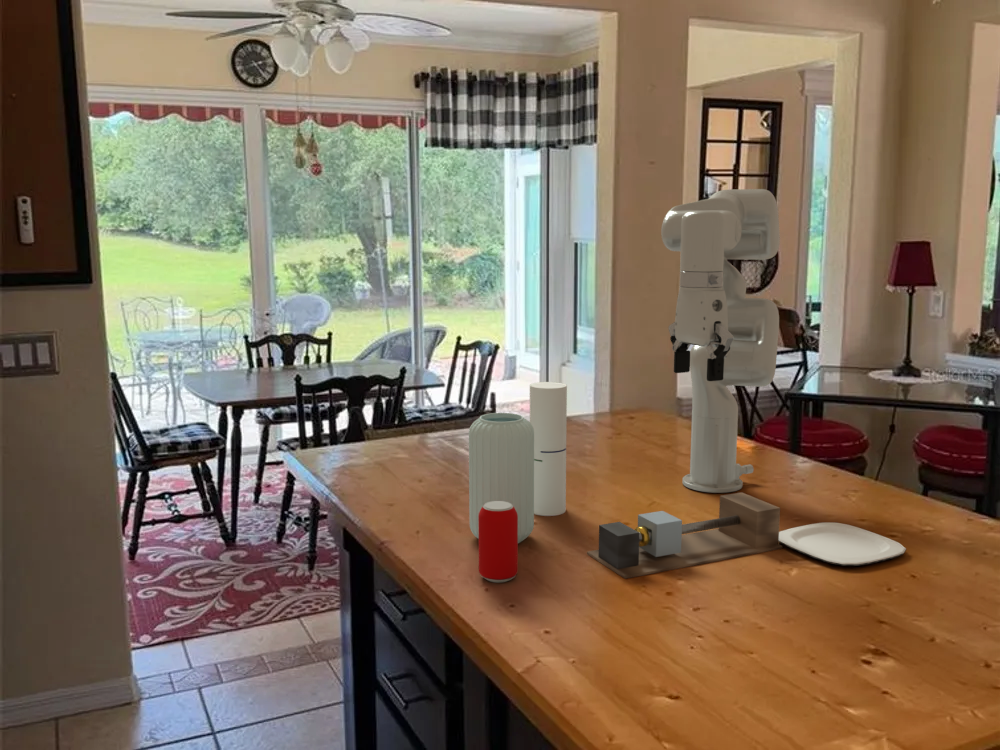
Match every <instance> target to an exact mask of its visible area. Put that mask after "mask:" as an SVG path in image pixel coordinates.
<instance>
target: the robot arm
mask: <svg viewBox="0 0 1000 750" xmlns="http://www.w3.org/2000/svg"><path fill="white" fill-rule="evenodd" d="M779 217H780V216H779V208H778V203H777V201H776V197H775V196H774V195H773V193H772V192H771V191H770V190H767V189H765V188H756V189H755V188H754V189H752V188H747V189H737V188H736V189H734V188H733V189H732V188H731V189H722V190H719V191H716V192H714V193H713V194H712V195H710V196H709V198H705V199H700V200H698V201H693V202H687V203H683V204H679V205H678V204H677V205H675V206H673V207H671V209H670V210H668V211H667V213H666V214H665V216H664V217H663V221H662V224H661V227H660V228H661V230H660V233H661V234H660V236H661V241H662V243H663V245H664V247H665V248H666V249H667V250H669V251H671V252H680V256H679V257H680V260H679V262H680V263H679V265H680V266H679V290H678V294H677V299H676V307H675V316H674V318H675V319H674V321H673V323H671V324H669V326H668V327H667V328H668V333H669V336H670V343H671V344H672V347H671V348H672V351H674V355H673V372H674V374H682V373H689V372H690V377H691V387H692V389H691V391H692V392H691V393H692V395H691V396H692V397H691V398H692V399H691V404H692V405H691V406H692V408H691V435H690V437H691V438H690V462H689V463H690V464H689V473H688V474H686V475H684V476H683V477H682V485H683V486H684V487H685V488H688V489H690V490H694V491H697V492H701V493H713V494H717V493H718V494H725V493H733V492H737V491H739V490H741V489H743V483H744V482H743V480H742V479H741V478H740V477H741V476H743V474H744V475H747V474H753V473H754V466H753V465H752V464H750V463H749V464H744V465H741V464H740V463H737V448H738V447H737V446H738V425H739V424H738V422H739V420H738V419H739V405H738V402H737V400H736V397H734V395H733V394H732V393H731V391H730V390H729V389H728V387H727V386H739V387H740V386H741V387H756V388H757V387H759V388H761V387H767V386H768V385H770V384H771V383H772V381H774V377H775V373H776V367H777V356H778V345H779V344H778V343H779V331H780V330H779V329H780V315H779V313H780V312H779V308H778V306H777V304H776V303H775V302H774V301H773V300H770V299H769V298H764V297H763V298H761V297H746V294H747V282H746V279H745V277H744V276H743V275H742V273H741V272H740V271H739V270H738V269H737V268H736V267H735V266H734V265H732V263H731V262H730V261H728V260H751V261H752V260H754V261H755V260H757V261H758V260H760V261H761V260H763V261H764V260H769V259H772V258H773V257H775V256H776V255H777V253H778V251H779V247H780V243H781V235H780V233H781V232H780V231H781V230H780V220H779V219H780V218H779ZM692 345H693V346H692ZM691 346H692V347H691ZM690 347H691V348H690ZM689 348H690V350H688V349H689Z"/></svg>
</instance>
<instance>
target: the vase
mask: <svg viewBox="0 0 1000 750" xmlns="http://www.w3.org/2000/svg"><path fill="white" fill-rule="evenodd" d="M468 429H469V430H468V479H469V481H468V485H469V486H468V489H469V495H468V496H469V499H468V501H469V508H468V509H469V513H468V514H469V529H470V531H471V533H472V534H473V536H474V537H475V538H477V540H479V525H478V515H479V512H480V510H481V508H482V506H483V505H484V504H486V503H488V502H492V501H504V502H508V503H510V504H512V505H513V506H514V508H515V510H516V512H517V515H518V544H520V543H522V542H523V541H524V540H525V539H527V538H528V537H529V536H530V535H531V534H532V532H533V530H534V526H535V514H534V429H533V426H532V425H531V423H530V420H528V419H527V418H525V417H524V416H523V415H522V414H518V413H512V412H511V413H510V412H492V413H486V414H482V415H480V416H479V417H478V418H476V420H474V421H473V422H472V423H471V425H470V426H469V428H468Z"/></svg>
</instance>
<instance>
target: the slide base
mask: <svg viewBox="0 0 1000 750" xmlns="http://www.w3.org/2000/svg"><path fill="white" fill-rule="evenodd" d="M718 513H719V514H718V518H724V517H730V516H736V515H737V516H739V518H740V524H738V525H733V526H727V527H721V528H715V529H710V530H704V531H698V532H693V533H687V534H682V537H681V552H680V553H675V554H670V555H664V556H659V557H655V556H653V555H652V554H650V553H648V552H647V551H645V550H643V549H641V548H640V547H639V532H637V531H635V528H632V527H630V526H628V525H626V524H625V523H623V522H621V521H617V522H608V523H604V524H598V549H595V550H594V549H593V550H588V551H586V554H587V556H589V557H591V558H593V559H594V560H595V561H597V562H598V563H600V564H602V565H603V566H605V567H606V568H608V569H609V570H611V571H612V572H613V573H615V574H617V575H619V576H620V577H622V578H623V579H631V578H636V577H641V576H646V575H651V574H652V575H653V574H657V573H660V572H667V571H673V570H676V569H682V568H687V567H693V566H698V565H702V564H703V565H704V564H709V563H713V562H719V561H723V560H728V559H729V560H730V559H736V558H739V557H744V556H749V555H754V554H759V553H765V552H771V551H775V550H781V549H783V545H781V544H779V541H778V540H779V532H780V517H781V516H780V515H781V507H779V506H776V505H774V504H772V503H769V502H768V501H767V502H766V501H764V500H762V499H760V498H757V497H754V496H752V495H750V494H746V493H745V492H737V493H731V494H730V493H729V494H724V495H719V512H718Z"/></svg>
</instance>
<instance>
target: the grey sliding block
mask: <svg viewBox="0 0 1000 750" xmlns="http://www.w3.org/2000/svg"><path fill="white" fill-rule="evenodd" d="M682 525H683V520H682V519H680V518H679V517H677V516H675V515H672V514H670V513H669V512H667V511H664V510H660V511H653V512H646V513H640V514H637V527H642V526H643V527H645V528H646V529H647V530H652V540H650V541H649V544H648V545H647V546H641V547H640V546H639V547H640V548H641V549H643V550H645V551H647V552H648V553H650V554H652V555H653V556H655V557H659V556H664V555H670V554H675V553H680V552H681V537H682V535H683V534H682Z"/></svg>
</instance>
